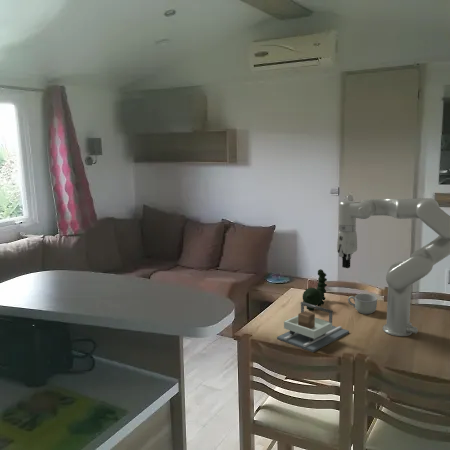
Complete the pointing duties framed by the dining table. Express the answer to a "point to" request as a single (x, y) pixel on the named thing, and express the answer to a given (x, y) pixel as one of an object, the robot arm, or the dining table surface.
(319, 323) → the shallow sage tray
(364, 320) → the dining table surface
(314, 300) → the toy figurine
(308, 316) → the walnut block
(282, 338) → the track
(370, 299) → the teacup
